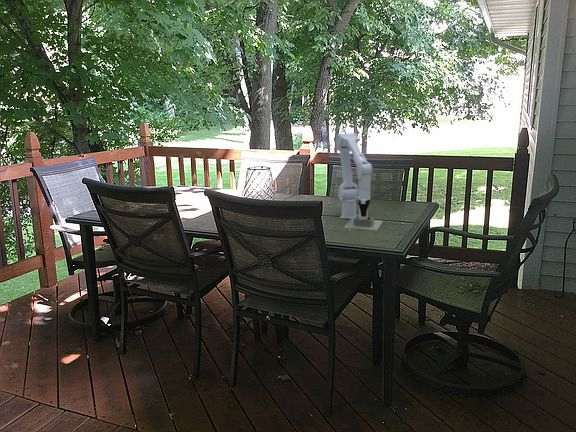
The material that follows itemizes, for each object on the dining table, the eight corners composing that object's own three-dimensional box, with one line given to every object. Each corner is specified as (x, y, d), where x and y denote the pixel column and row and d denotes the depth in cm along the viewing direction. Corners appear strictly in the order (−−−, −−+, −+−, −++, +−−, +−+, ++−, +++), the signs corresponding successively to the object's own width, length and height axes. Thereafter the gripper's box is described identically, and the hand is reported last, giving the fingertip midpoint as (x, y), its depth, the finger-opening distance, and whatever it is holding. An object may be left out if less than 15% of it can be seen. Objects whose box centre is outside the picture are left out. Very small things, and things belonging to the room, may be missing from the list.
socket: (351, 220, 262) (351, 214, 262) (382, 222, 257) (382, 215, 257) (344, 228, 248) (344, 221, 247) (377, 230, 243) (377, 223, 242)
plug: (359, 218, 254) (359, 205, 253) (367, 219, 253) (367, 205, 252) (358, 220, 251) (358, 206, 249) (367, 220, 250) (367, 206, 248)
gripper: (357, 185, 256) (357, 212, 259) (354, 190, 242) (354, 218, 245) (371, 186, 255) (371, 212, 258) (369, 191, 241) (369, 218, 244)
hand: (364, 215), depth 251 cm, fingers closed on plug, 4 cm apart
